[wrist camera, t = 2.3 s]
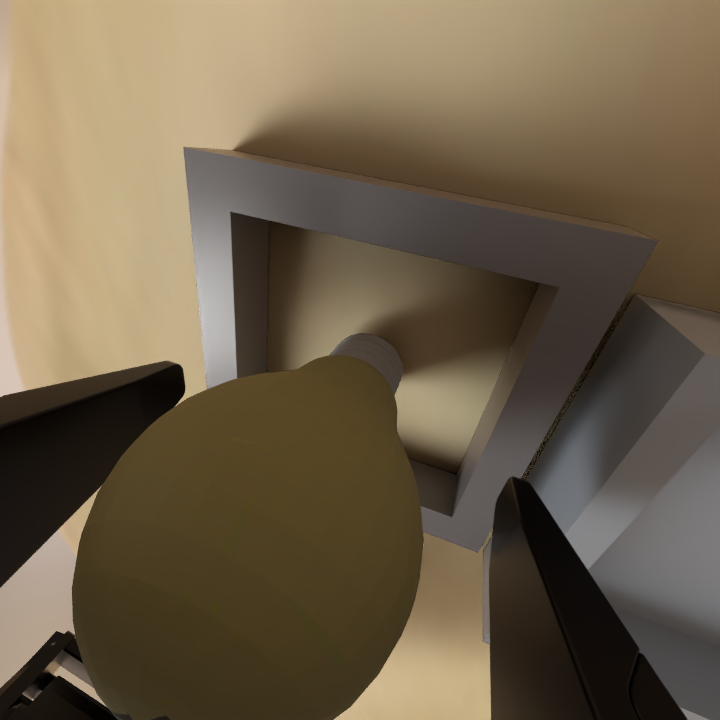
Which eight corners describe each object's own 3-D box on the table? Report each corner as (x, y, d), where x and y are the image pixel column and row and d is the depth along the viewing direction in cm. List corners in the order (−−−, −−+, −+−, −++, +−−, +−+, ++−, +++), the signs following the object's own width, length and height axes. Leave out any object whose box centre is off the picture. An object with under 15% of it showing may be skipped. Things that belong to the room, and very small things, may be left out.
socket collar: (241, 422, 16) (212, 452, 15) (230, 149, 11) (183, 147, 9) (478, 507, 14) (477, 552, 13) (624, 226, 9) (658, 240, 7)
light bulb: (369, 238, 11) (-66, 509, 2) (491, 367, 11) (504, 934, 3) (274, 344, 14) (-64, 630, 5) (375, 440, 14) (220, 825, 6)
